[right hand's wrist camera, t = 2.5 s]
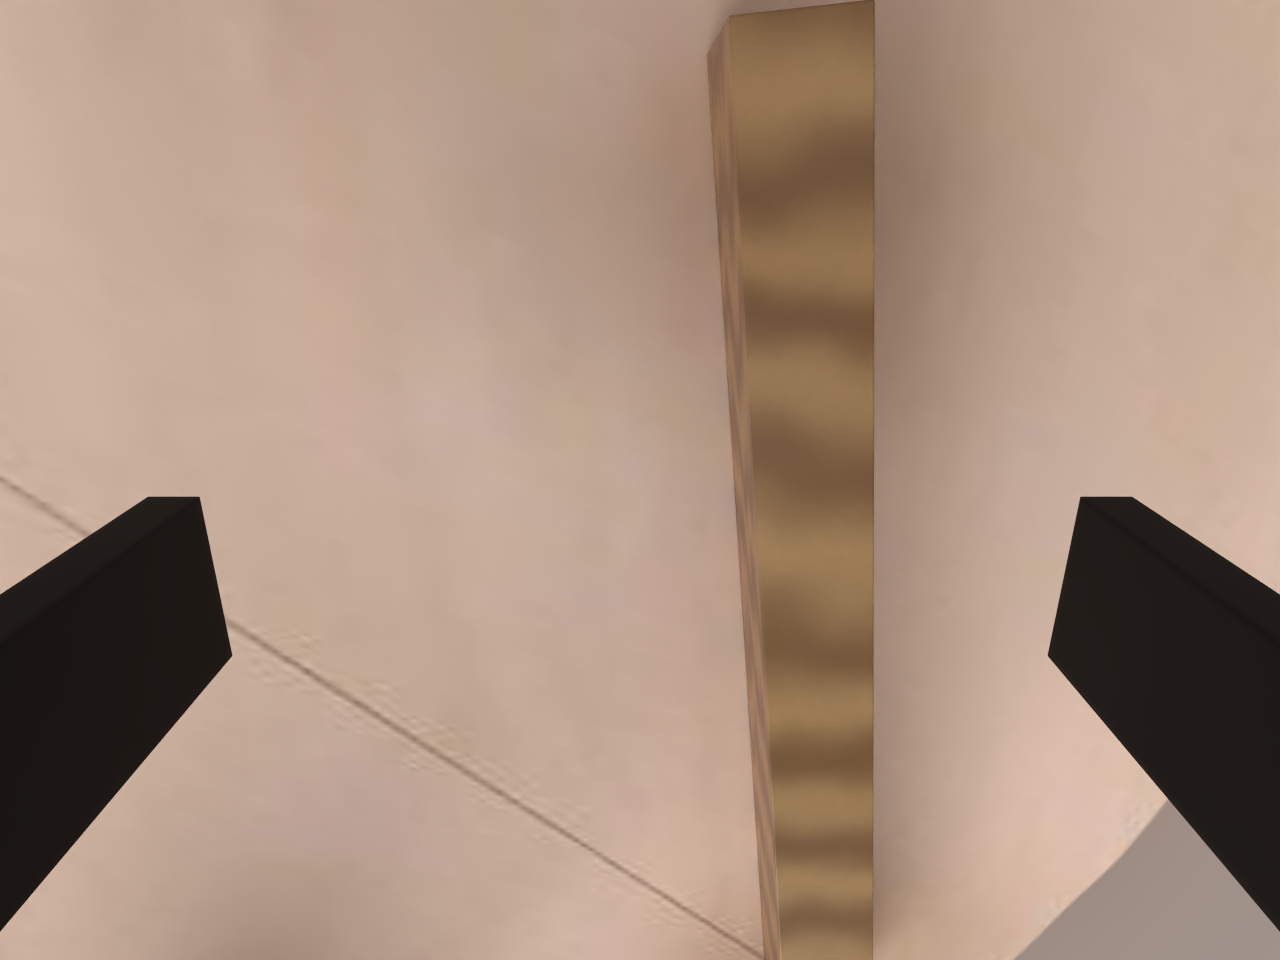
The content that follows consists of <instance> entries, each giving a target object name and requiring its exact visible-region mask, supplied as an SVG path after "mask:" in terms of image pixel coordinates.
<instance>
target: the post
mask: <svg viewBox="0 0 1280 960" xmlns="http://www.w3.org/2000/svg"><path fill="white" fill-rule="evenodd" d="M874 55H875V2H874V0H864V1H855V2H846V3H837V4H829V5H820V6H811V7H802V8H793V9H785V10H776V11H767V12H758V13H750V14H741V15H732V16H730V17H729V18H728V20H727V21H726V23H725V25H724V27H723V28H722V30H721V32H720V33H719V35H718V37H717V38H716V40H715V42H714V44H713V45H712V47H711V49H710V50H709V52H708V54H707V63H708V78H709V94H710V110H711V126H712V141H713V157H714V173H715V189H716V204H717V220H718V236H719V252H720V267H721V283H722V299H723V315H724V330H725V346H726V362H727V378H728V393H729V409H730V425H731V441H732V456H733V472H734V488H735V504H736V519H737V535H738V551H739V567H740V582H741V598H742V614H743V629H744V645H745V661H746V677H747V692H748V708H749V724H750V740H751V755H752V771H753V787H754V803H755V818H756V834H757V850H758V866H759V881H760V897H761V913H762V929H763V944H764V960H873V577H874Z"/></svg>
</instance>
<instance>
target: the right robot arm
mask: <svg viewBox="0 0 1280 960" xmlns="http://www.w3.org/2000/svg"><path fill="white" fill-rule="evenodd" d="M231 657H232V652H231V647H230V642H229V637H228V632H227V628H226V623H225V618H224V613H223V608H222V603H221V599H220V594H219V589H218V584H217V579H216V574H215V570H214V565H213V560H212V555H211V550H210V545H209V540H208V536H207V531H206V526H205V521H204V516H203V511H202V507H201V502H200V497H147V498H145V499H144V500H142V501H141V502H139V503H138V504H136V505H135V506H133V507H132V508H130V509H129V510H127V511H126V512H124V513H123V514H121V515H120V516H118V517H117V518H115V519H114V520H112V521H111V522H109V523H108V524H106V525H105V526H103V527H102V528H100V529H99V530H97V531H96V532H94V533H93V534H91V535H90V536H88V537H87V538H85V539H83V540H82V541H80V542H79V543H77V544H76V545H74V546H73V547H71V548H70V549H68V550H67V551H65V552H64V553H62V554H61V555H59V556H58V557H56V558H55V559H53V560H52V561H50V562H49V563H47V564H46V565H44V566H43V567H41V568H40V569H38V570H37V571H35V572H34V573H32V574H31V575H29V576H28V577H26V578H25V579H23V580H22V581H20V582H19V583H17V584H15V585H14V586H12V587H11V588H9V589H8V590H6V591H5V592H3V593H2V594H0V931H1V930H2V929H3V928H4V926H5V925H6V924H7V923H8V922H9V920H10V919H11V918H12V917H13V916H14V914H15V913H16V912H17V911H18V910H19V909H20V907H21V906H22V905H23V904H24V903H25V901H26V900H27V899H28V898H29V897H30V895H31V894H32V893H33V892H34V891H35V890H36V888H37V887H38V886H39V885H40V884H41V882H42V881H43V880H44V879H45V878H46V876H47V875H48V874H49V873H50V872H51V871H52V869H53V868H54V867H55V866H56V865H57V863H58V862H59V861H60V860H61V859H62V857H63V856H64V855H65V854H66V853H67V851H68V850H69V849H70V848H71V847H72V846H73V844H74V843H75V842H76V841H77V840H78V838H79V837H80V836H81V835H82V834H83V832H84V831H85V830H86V829H87V828H88V827H89V825H90V824H91V823H92V822H93V821H94V819H95V818H96V817H97V816H98V815H99V813H100V812H101V811H102V810H103V809H104V808H105V806H106V805H107V804H108V803H109V802H110V800H111V799H112V798H113V797H114V796H115V794H116V793H117V792H118V791H119V790H120V789H121V787H122V786H123V785H124V784H125V783H126V781H127V780H128V779H129V778H130V777H131V775H132V774H133V773H134V772H135V771H136V770H137V768H138V767H139V766H140V765H141V764H142V762H143V761H144V760H145V759H146V758H147V756H148V755H149V754H150V753H151V752H152V751H153V749H154V748H155V747H156V746H157V745H158V743H159V742H160V741H161V740H162V739H163V737H164V736H165V735H166V734H167V733H168V731H169V730H170V729H171V728H172V727H173V726H174V724H175V723H176V722H177V721H178V720H179V718H180V717H181V716H182V715H183V714H184V712H185V711H186V710H187V709H188V708H189V707H190V705H191V704H192V703H193V702H194V701H195V699H196V698H197V697H198V696H199V695H200V693H201V692H202V691H203V690H204V689H205V688H206V686H207V685H208V684H209V683H210V682H211V680H212V679H213V678H214V677H215V676H216V674H217V673H218V672H219V671H220V670H221V669H222V667H223V666H224V665H225V664H226V663H227V661H228V660H229V659H230V658H231ZM1048 657H1049V658H1050V659H1051V660H1052V661H1053V663H1054V664H1055V665H1056V666H1057V667H1058V669H1059V670H1060V671H1061V672H1062V673H1063V674H1064V676H1065V677H1066V678H1067V679H1068V680H1069V682H1070V683H1071V684H1072V685H1073V686H1074V688H1075V689H1076V690H1077V691H1078V692H1079V693H1080V695H1081V696H1082V697H1083V698H1084V699H1085V701H1086V702H1087V703H1088V704H1089V705H1090V707H1091V708H1092V709H1093V710H1094V711H1095V712H1096V714H1097V715H1098V716H1099V717H1100V718H1101V720H1102V721H1103V722H1104V723H1105V724H1106V726H1107V727H1108V728H1109V729H1110V730H1111V731H1112V733H1113V734H1114V735H1115V736H1116V737H1117V739H1118V740H1119V741H1120V742H1121V743H1122V745H1123V746H1124V747H1125V748H1126V749H1127V751H1128V752H1129V753H1130V754H1131V755H1132V756H1133V758H1134V759H1135V760H1136V761H1137V762H1138V764H1139V765H1140V766H1141V767H1142V768H1143V770H1144V771H1145V772H1146V773H1147V774H1148V775H1149V777H1150V778H1151V779H1152V780H1153V781H1154V783H1155V784H1156V785H1157V786H1158V787H1159V789H1160V790H1161V791H1162V792H1163V793H1164V794H1165V796H1166V797H1167V798H1168V799H1169V800H1170V802H1171V803H1172V804H1173V805H1174V806H1175V808H1176V809H1177V810H1178V811H1179V812H1180V813H1181V815H1182V816H1183V817H1184V818H1185V819H1186V821H1187V822H1188V823H1189V824H1190V825H1191V827H1192V828H1193V829H1194V830H1195V831H1196V832H1197V834H1198V835H1199V836H1200V837H1201V838H1202V840H1203V841H1204V842H1205V843H1206V844H1207V846H1208V847H1209V848H1210V849H1211V850H1212V851H1213V853H1214V854H1215V855H1216V856H1217V857H1218V859H1219V860H1220V861H1221V862H1222V863H1223V865H1224V866H1225V867H1226V868H1227V869H1228V870H1229V872H1230V873H1231V874H1232V875H1233V876H1234V878H1235V879H1236V880H1237V881H1238V882H1239V884H1240V885H1241V886H1242V887H1243V888H1244V890H1245V891H1246V892H1247V893H1248V894H1249V895H1250V897H1251V898H1252V899H1253V900H1254V901H1255V903H1256V904H1257V905H1258V906H1259V907H1260V909H1261V910H1262V911H1263V912H1264V913H1265V914H1266V916H1267V917H1268V918H1269V919H1270V920H1271V922H1272V923H1273V924H1274V925H1275V926H1276V928H1277V929H1278V930H1279V931H1280V594H1278V593H1277V592H1275V591H1274V590H1272V589H1271V588H1269V587H1268V586H1266V585H1265V584H1263V583H1261V582H1260V581H1258V580H1257V579H1255V578H1254V577H1252V576H1251V575H1249V574H1248V573H1246V572H1245V571H1243V570H1242V569H1240V568H1239V567H1237V566H1236V565H1234V564H1233V563H1231V562H1230V561H1228V560H1227V559H1225V558H1224V557H1222V556H1221V555H1219V554H1218V553H1216V552H1215V551H1213V550H1212V549H1210V548H1209V547H1207V546H1206V545H1204V544H1203V543H1201V542H1200V541H1198V540H1197V539H1195V538H1193V537H1192V536H1190V535H1189V534H1187V533H1186V532H1184V531H1183V530H1181V529H1180V528H1178V527H1177V526H1175V525H1174V524H1172V523H1171V522H1169V521H1168V520H1166V519H1165V518H1163V517H1162V516H1160V515H1159V514H1157V513H1156V512H1154V511H1153V510H1151V509H1150V508H1148V507H1147V506H1145V505H1144V504H1142V503H1141V502H1139V501H1138V500H1136V499H1135V498H1133V497H1080V502H1079V507H1078V511H1077V516H1076V521H1075V526H1074V531H1073V536H1072V540H1071V545H1070V550H1069V555H1068V560H1067V565H1066V570H1065V574H1064V579H1063V584H1062V589H1061V594H1060V599H1059V603H1058V608H1057V613H1056V618H1055V623H1054V628H1053V632H1052V637H1051V642H1050V647H1049V652H1048Z"/></svg>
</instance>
